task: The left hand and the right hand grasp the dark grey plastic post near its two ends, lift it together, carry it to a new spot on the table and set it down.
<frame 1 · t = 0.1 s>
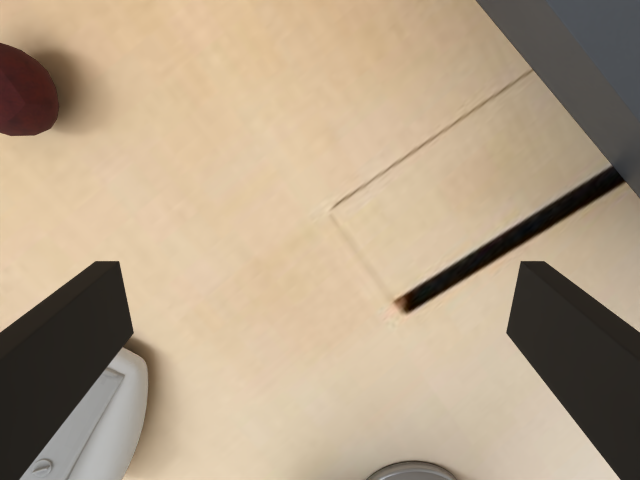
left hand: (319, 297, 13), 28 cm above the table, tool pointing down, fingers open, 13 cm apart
projector: (90, 401, 50), on the table
potato: (37, 92, 37), on the table
post: (624, 129, 38), on the table
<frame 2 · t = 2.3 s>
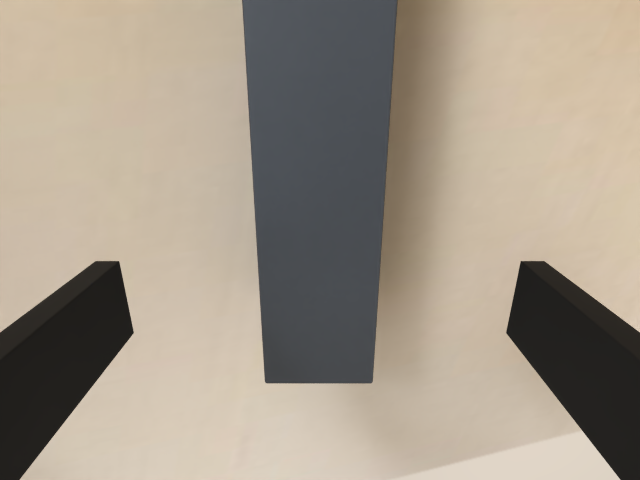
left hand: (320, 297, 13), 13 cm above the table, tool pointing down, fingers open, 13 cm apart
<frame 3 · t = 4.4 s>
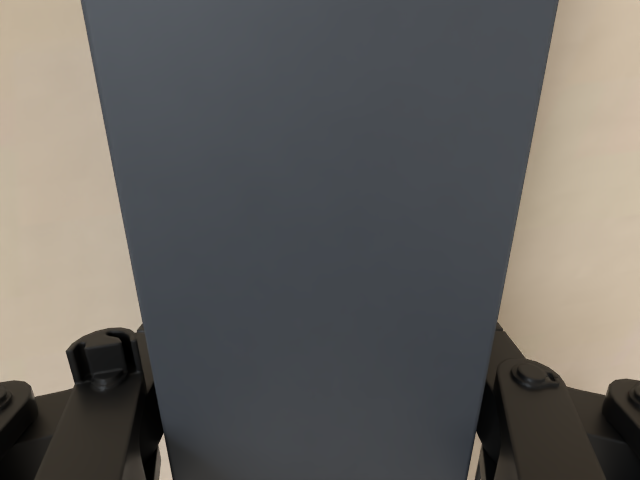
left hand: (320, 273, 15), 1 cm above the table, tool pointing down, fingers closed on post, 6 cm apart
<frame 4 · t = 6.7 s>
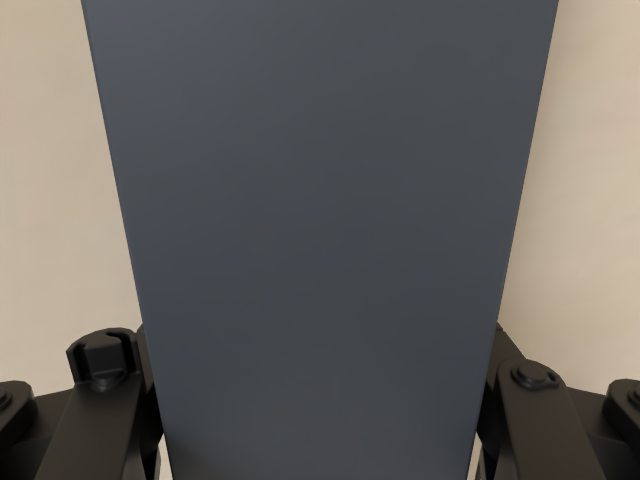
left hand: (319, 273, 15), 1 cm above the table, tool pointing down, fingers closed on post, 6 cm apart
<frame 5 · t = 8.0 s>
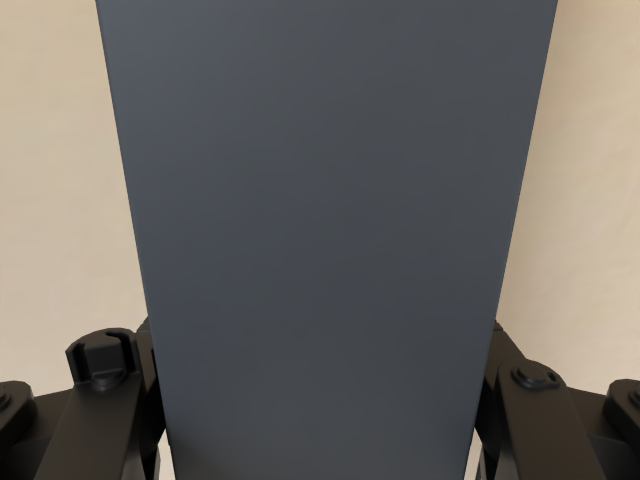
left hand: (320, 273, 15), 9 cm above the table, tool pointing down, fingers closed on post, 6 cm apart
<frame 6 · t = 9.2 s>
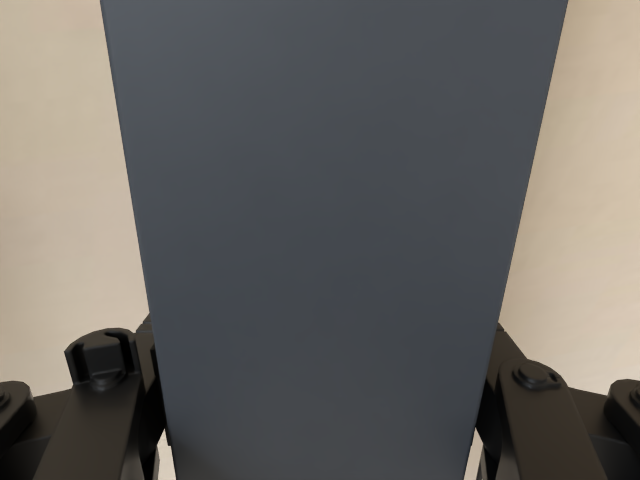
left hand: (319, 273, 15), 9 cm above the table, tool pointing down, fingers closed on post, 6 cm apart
when the left hand's fingers open (1 cm above the table, at t = 11.5 s): post stays where it is, on the table.
when the right hand's fingers open (4 cm above the table, at t = 11.7 s): post stays where it is, on the table.
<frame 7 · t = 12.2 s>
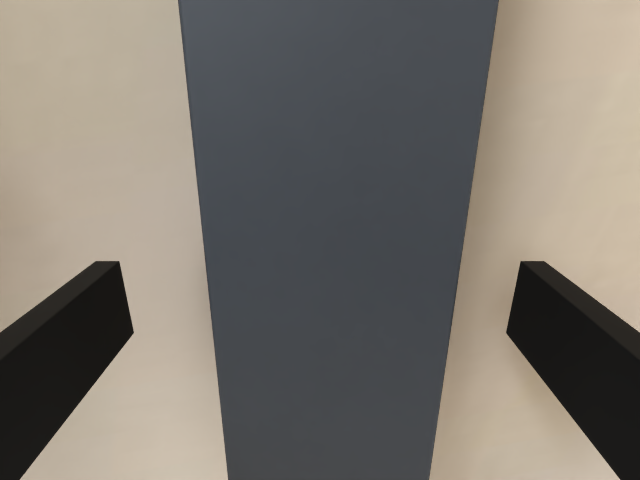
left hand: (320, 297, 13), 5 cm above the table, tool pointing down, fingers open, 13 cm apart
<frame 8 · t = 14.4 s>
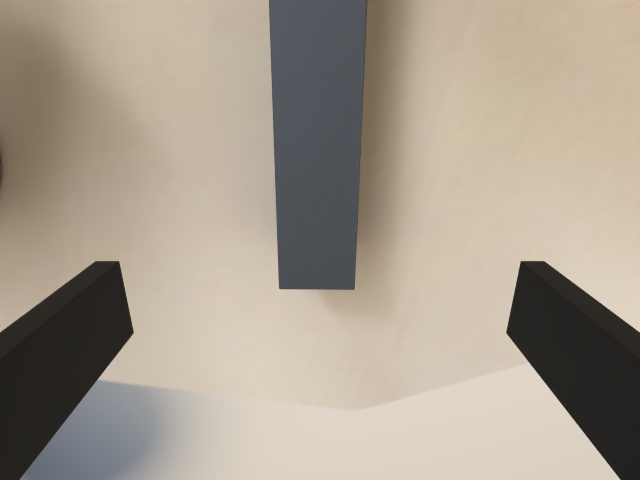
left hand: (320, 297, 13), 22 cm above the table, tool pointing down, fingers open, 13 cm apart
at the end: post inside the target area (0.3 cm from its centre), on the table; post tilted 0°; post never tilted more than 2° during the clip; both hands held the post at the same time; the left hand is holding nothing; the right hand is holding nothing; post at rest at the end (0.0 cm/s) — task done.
